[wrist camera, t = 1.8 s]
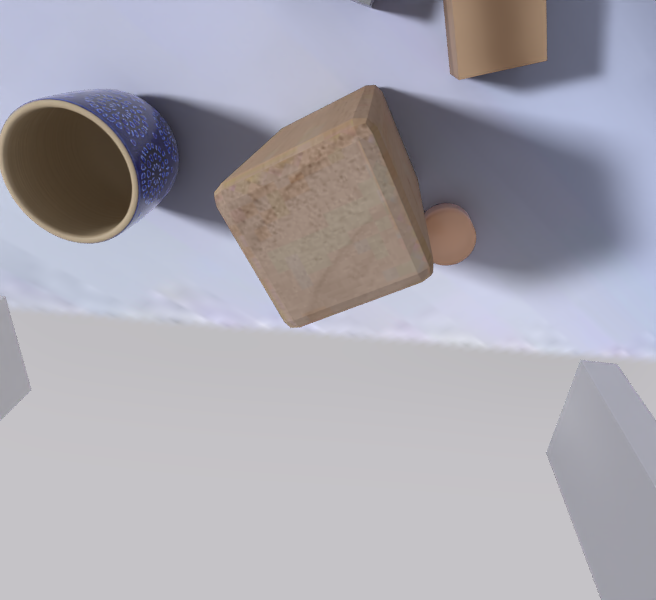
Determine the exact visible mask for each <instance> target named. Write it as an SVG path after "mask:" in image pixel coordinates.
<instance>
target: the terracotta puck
mask: <svg viewBox="0 0 656 600" xmlns="http://www.w3.org/2000/svg"><path fill="white" fill-rule="evenodd" d="M424 215H425V220H426V225H427V230H428V235H429V240H430V245H431V250H432V256H433V263H436V264H439V265H453V264H456V263H459V262H461V261H463V260H464V259H465V258H467V257H468V256H469V255H470V253H471V252H472V250H473V249H474V246H475V243H476V232H475V229H474V226H473V224H472V222H471V219H470V217H469V215H468V214H467V212H466V211H465V210H464V209H463V208H461V207H460V206H458V205H455V204H451V203H442V204H438V205H435V206H433V207H431V208H429V209H428V210H427V211H426V212H425V213H424Z"/></svg>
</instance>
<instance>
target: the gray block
mask: <svg viewBox="0 0 656 600" xmlns="http://www.w3.org/2000/svg"><path fill="white" fill-rule="evenodd" d="M351 1H354V2H356V3H359V4H362V5H364V6H367V7H370V8H372V5H373V2H374V0H351Z"/></svg>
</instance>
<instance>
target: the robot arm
mask: <svg viewBox="0 0 656 600" xmlns="http://www.w3.org/2000/svg"><path fill="white" fill-rule="evenodd" d="M30 391H31V386H30V383H29V379H28V376H27V372H26V369H25V365H24V361H23V358H22V355H21V351H20V347H19V344H18V340H17V336H16V333H15V329H14V326H13V323H12V319H11V315H10V312H9V308H8V305H7V301H6V297H5V296H0V420H2V419H3V418H4V417H5V416H6V414H8V413H9V412H10V411H11V410H12V408H13V407H14V406H16V405H17V404H18V403H19V402H20V401H21V400H22V399H23V398H24V397H25V396H26V395H27V394H28V393H29V392H30ZM546 453H547V456H548V459H549V462H550V464H551V467H552V470H553V472H554V475H555V478H556V480H557V483H558V485H559V488H560V491H561V494H562V496H563V499H564V502H565V504H566V507H567V510H568V512H569V515H570V517H571V520H572V523H573V526H574V528H575V531H576V534H577V536H578V539H579V542H580V545H581V547H582V550H583V553H584V555H585V558H586V561H587V563H588V566H589V569H590V571H591V574H592V577H593V579H594V582H595V585H596V587H597V590H598V593H599V595H600V598H601V600H656V420H655V418H654V417H653V415H652V414H651V412H650V411H649V410H648V408H647V407H646V405H645V404H644V402H643V401H642V399H641V398H640V396H639V395H638V394H637V392H636V391H635V389H634V388H633V386H632V385H631V383H630V382H629V381H628V379H627V378H626V376H625V375H624V373H623V372H622V370H621V369H620V367H619V366H618V365H617V364H613V363H604V362H595V361H586V360H580V363H579V366H578V368H577V371H576V374H575V377H574V379H573V382H572V385H571V387H570V390H569V393H568V396H567V398H566V401H565V404H564V406H563V409H562V412H561V415H560V417H559V420H558V423H557V425H556V428H555V431H554V434H553V436H552V439H551V442H550V444H549V447H548V450H547V452H546Z"/></svg>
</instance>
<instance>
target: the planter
mask: <svg viewBox="0 0 656 600" xmlns="http://www.w3.org/2000/svg"><path fill="white" fill-rule="evenodd" d="M178 168H179V154H178V148H177V144H176V140H175V137H174V135H173V133H172V131H171V129H170V127H169V125H168V124H167V122H166V121H165V119H164V118H163V117H162V116H161V115H160V113H159V112H158V111H157V110H156V109H155V108H154V107H152V106H151V105H150V104H149V103H147V102H146V101H144V100H143V99H141V98H139V97H137V96H135V95H132V94H130V93H127V92H123V91H119V90H112V89H93V90H82V91H75V92H68V93H63V94H58V95H53V96H48V97H43V98H40V99H36V100H33V101H30V102H28V103H25V104H23V105H22V106H20V107H19V108H17V109H16V110H15V111H14V112H13V113H12V114H11V115H10V116H9V117H8V119H7V120H6V122H5V124H4V126H3V128H2V130H1V133H0V170H1V174H2V177H3V180H4V182H5V184H6V187H7V189H8V190H9V192H10V194H11V196H12V197H13V199H14V200H15V202H16V203H17V205H18V206H19V207H20V208H21V209H22V211H23V212H24V213H25V214H26V215H27V216H28V217H29V218H30V219H31V220H32V221H34V222H35V223H36V224H37V225H39V226H40V227H41V228H43V229H44V230H46V231H48V232H49V233H51V234H53V235H55V236H57V237H60V238H62V239H65V240H68V241H72V242H77V243H99V242H104V241H107V240H110V239H112V238H114V237H116V236H117V235H119V234H121V233H122V232H124V231H125V230H127V229H128V228H130V227H131V226H132V225H134V224H135V223H136V222H138V221H139V220H141V219H142V218H143V217H144V216H145V215H147V214H148V213H149V212H150V211H151V210H153V209H154V208H155V207H156V206H157V205H158V204H159V203H160V202H161V201H162V200H163V199H164V198H165V196H166V195H167V194H168V193H169V191H170V190H171V188H172V186H173V184H174V182H175V180H176V177H177V173H178Z"/></svg>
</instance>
